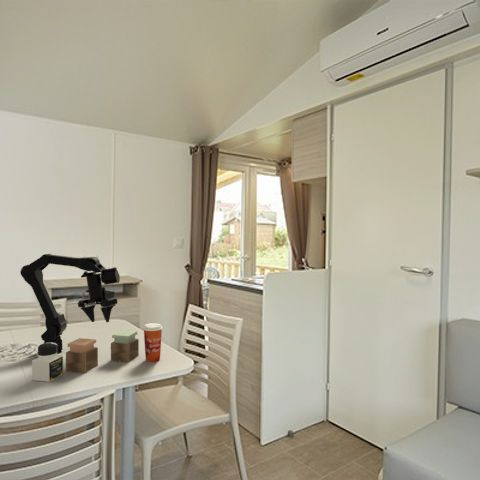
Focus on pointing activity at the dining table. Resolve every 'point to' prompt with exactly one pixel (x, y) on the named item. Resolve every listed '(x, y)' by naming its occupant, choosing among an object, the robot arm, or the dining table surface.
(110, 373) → the dining table surface
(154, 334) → the paper cup
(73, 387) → the dining table surface
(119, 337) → the sage button
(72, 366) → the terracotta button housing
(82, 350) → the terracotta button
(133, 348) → the block
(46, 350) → the medicine bottle
